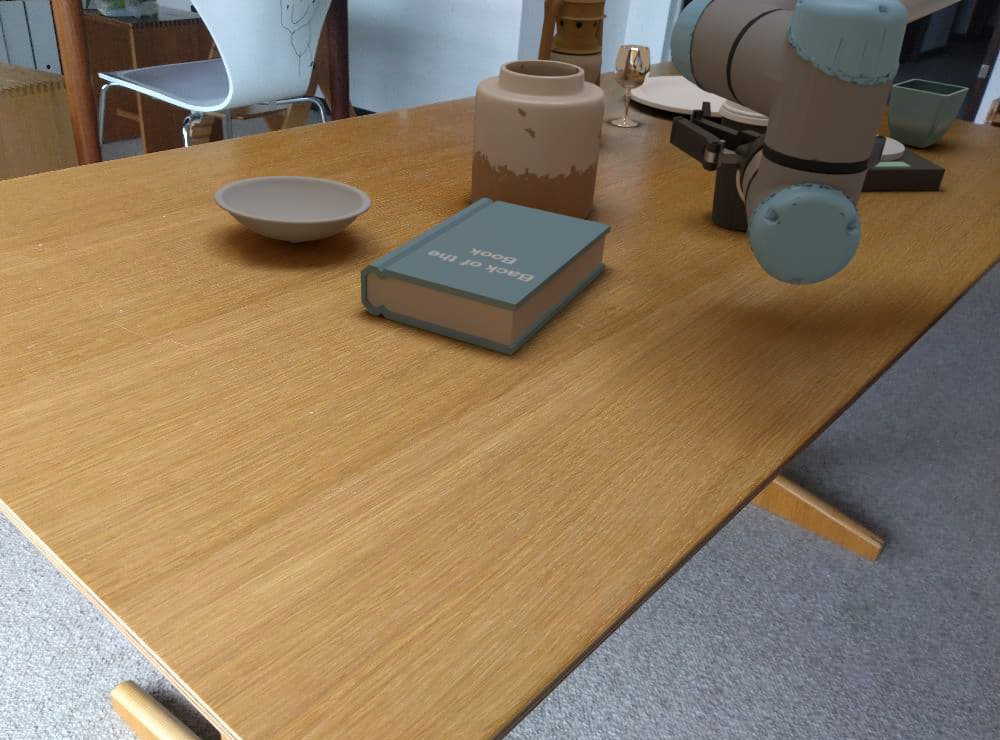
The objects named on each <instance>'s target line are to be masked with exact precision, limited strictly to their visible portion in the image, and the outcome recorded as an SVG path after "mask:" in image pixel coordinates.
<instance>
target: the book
mask: <svg viewBox="0 0 1000 740" xmlns="http://www.w3.org/2000/svg"><path fill="white" fill-rule="evenodd" d="M610 232H611V225H610V224H606V223H601V222H596V221H592V220H587V219H584V220H583V219H579V218H574V217H570V216H565V215H561V214H556V213H552V212H547V211H543V210H538V209H533V208H529V207H524V206H520V205H515V204H511V203H506V202H502V201H496V202H494V203H493V202H492V200H491V199H488V198H482V199H480V200H478V201H477V202H475V203H473V204H472V203H471V204H470V205H468V206H467V207H465V208H463V209H461V210H460V211H458V212H456V213H455V214H453V215H451V216H449V217H448V218H446V219H445V220H442V221H441V222H439V223H437V224H436V225H434V226H433V227H431V228H429V229H427V230H426V231H424V232H422V233H421V234H418V235H417V236H416V237H414V238H412V239H410V240H408V241H407V242H405V243H403V244H402V245H400V246H398V247H396V248H395V249H394V250H391V251H390V252H388V253H387V254H384V255H383V256H381V257H379V258H378V259H376V260H375V261H373V262H371V263H370V264H368V265H366V266H365V267H364V268H363V269H362V270H360V302H361V304H362V305H363V307H364V308H365V309H366V310H367V312H368V313H369V314H370V315H374V316H379V315H382V316H383V317H384V319H388V320H390V321H394V322H398V323H401V324H404V325H408V326H411V327H415V328H418V329H421V330H424V331H427V332H432V333H434V334H438V335H441V336H444V337H448V338H451V339H455V340H458V341H461V342H464V343H468V344H472V345H475V346H478V347H482V348H485V349H488V350H492V351H494V352H498V353H502V354H505V355H508V356H513V355H514V354H515V353H516V352H517V351H518V350H519V349H521V347H522V346H523V345H525V344H526V343H527V342H528V341H529V340H530V339H531V338H532V337H534V335H536V334H537V333H538V332H539V331H540V330H541V329H542V328H543V327H544V326H545V325H546V324H548V323H549V322H550V321H551V320H552V319H553V318H554V317H556V315H557V314H558V313H560V311H562V310H563V309H564V308H566V306H567V305H568V304H569V303H571V301H573V299H574V298H576V297H577V296H578V295H579V294H580V293H582V292H583V290H584V289H586V288H587V287H588V286H589V285H590V284H591V283H592V282H594V280H595V279H596V278H597V277H598V276H600V275H601V274H602V273H603V272H604V271H605V270H606V263H605V262H603V257H604V251H605V242H606V236H607V235H608V234H609V233H610Z"/></svg>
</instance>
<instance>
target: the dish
mask: <svg viewBox="0 0 1000 740" xmlns="http://www.w3.org/2000/svg"><path fill="white" fill-rule="evenodd" d="M213 197H214V202H215V204H216V205H217V206H218V207H219V208H220V209H221V210H223V211H225V212H227V213H228V214H229V215H230V216H231V217H232V218H234V219H235V220H236V222H238V223H239V224H241V225H242V226H244V227H245V228H247V229H249V230H250V231H252V232H254V233H256V234H258V235H260V236H263V237H266V238H269V239H274V240H279V241H286V242H289V243H292V244H298V243H302V242H310V241H319V240H322V239H327V238H330V237H333V236H335V235H336V234H338V233H341V232H342V231H344V230H345V229H346V228H348V227H349V226H350V225H351V224H352V223H354V221H356V220H357V218H358V217H360V216H362V215H363V214H365V213H366V212H368V211H369V209H370V208H371V205H372V201H371V198H370V196H369V195H368V194H367V193H366V192H365V191H363V190H361V189H360V188H357V187H356V186H353V185H350V184H347V183H344V182H340V181H337V180H333V179H332V180H331V179H326V178H320V177H312V176H302V175H301V176H299V175H269V176H268V175H267V176H258V177H250V178H245V179H239V180H236V181H232V182H229V183H227V184H225V185H223V186H221V187H220V188H218V189H217V190H216V191H215V192H214V196H213Z"/></svg>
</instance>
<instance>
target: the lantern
mask: <svg viewBox="0 0 1000 740" xmlns="http://www.w3.org/2000/svg"><path fill="white" fill-rule="evenodd" d="M606 2H607V0H544V1H543V13H544V14H543V22H542V28H541V34H540V35H541V36H540V42H539V49H538V55H537V60H548V61H557V62H564V63H569V64H573V65H576V66H579V67H581V68H582V69H583V70H584V73H585V75H584V81H586V82H589V83H592V84H594V85H596V86H598V87H600V88H601V77H602V75H601V73H602V66H603V56H602V54H603V52H602V51H603V40H604V39H603V36H604V19H606V18H607V17H608V15H607V14H606V13H605V6H606ZM555 27H556V28H555ZM555 29H556V33H555Z"/></svg>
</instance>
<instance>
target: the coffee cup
mask: <svg viewBox="0 0 1000 740" xmlns="http://www.w3.org/2000/svg"><path fill="white" fill-rule="evenodd" d="M719 113H720V114H721V115H722V118H721V124H720V125H722V126H725V127H728V128H731V129H733V130H736V131H746V130H752V131H754V132H757V133H760V134H765V133H766V131H767V126H768V121H769V117H766V116H764V115H762V114H760V113H758V112H755V111H753V110H751V109H749V108H747V107H744V106H742V105H739V104H737V103H734V102H732V101H730V100H725V101H724V102H723V104H722V105H721V107H720V109H719ZM751 142H753V141H751ZM751 142H750V143H751ZM715 171H716V172H715V179H714V181H715V182H714V190H713V199H712V209H711V221H712V222H713V223H714V224H716V226H719V227H721V228H724V229H728V230H733V231H739V232H747V230H748V222H747V214H746V209H745V203H744V196H743V190H742V185H741V178H740V171H739V170H737V169H736V168H735V167H733V166H732V164H729V163H721V166H720V167H717V170H715Z"/></svg>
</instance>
